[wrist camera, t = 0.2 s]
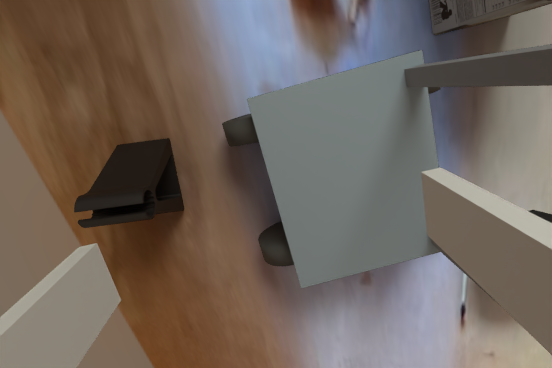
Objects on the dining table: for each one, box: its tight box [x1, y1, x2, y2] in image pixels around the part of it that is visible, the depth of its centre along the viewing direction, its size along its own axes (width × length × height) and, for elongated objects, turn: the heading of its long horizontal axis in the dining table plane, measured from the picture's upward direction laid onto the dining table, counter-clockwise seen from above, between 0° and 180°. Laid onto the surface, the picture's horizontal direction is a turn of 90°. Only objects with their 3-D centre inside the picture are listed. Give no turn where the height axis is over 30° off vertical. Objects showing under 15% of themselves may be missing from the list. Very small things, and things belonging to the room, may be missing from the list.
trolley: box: [222, 44, 552, 297], centre depth 27 cm, size 20×23×30 cm
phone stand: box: [74, 138, 184, 228], centre depth 35 cm, size 9×6×12 cm, turn 7°
